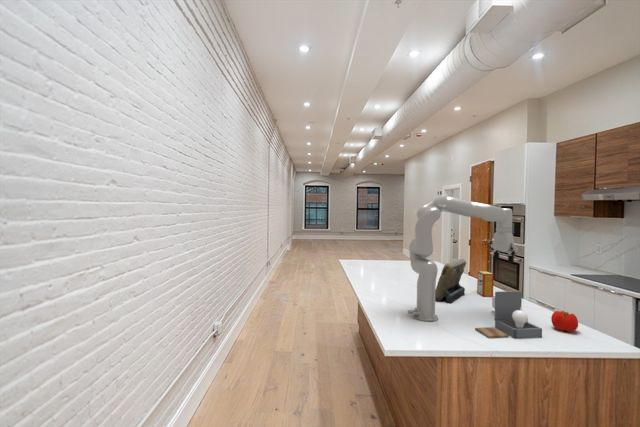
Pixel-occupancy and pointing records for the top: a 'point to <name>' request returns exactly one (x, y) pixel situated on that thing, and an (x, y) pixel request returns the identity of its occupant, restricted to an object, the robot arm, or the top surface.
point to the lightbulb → (519, 318)
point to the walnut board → (491, 332)
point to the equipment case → (503, 315)
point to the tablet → (450, 281)
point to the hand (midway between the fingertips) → (503, 261)
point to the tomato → (564, 321)
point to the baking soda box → (485, 284)
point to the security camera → (493, 305)
